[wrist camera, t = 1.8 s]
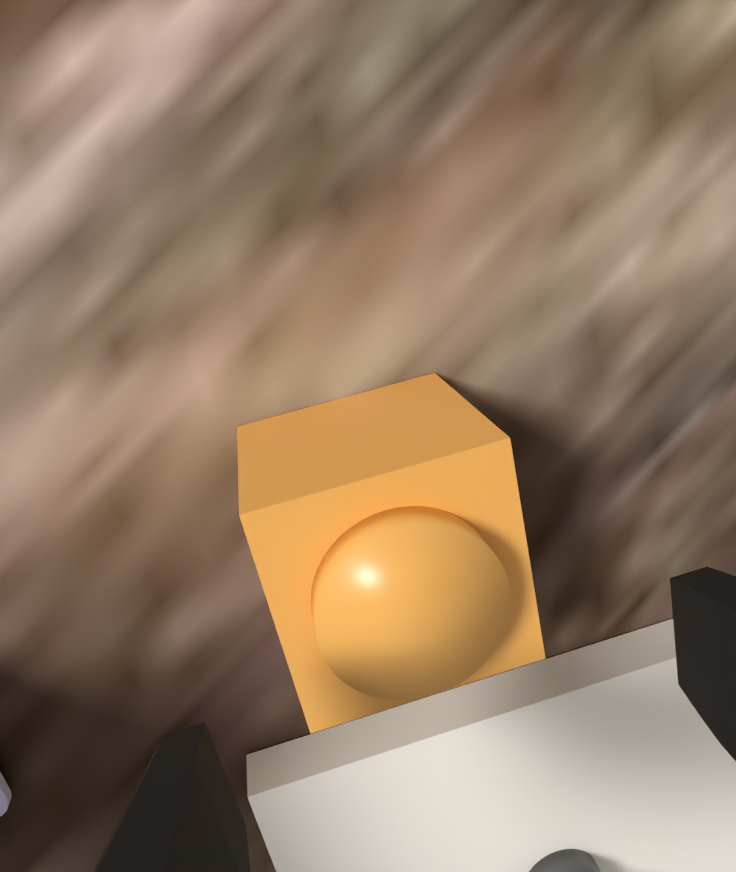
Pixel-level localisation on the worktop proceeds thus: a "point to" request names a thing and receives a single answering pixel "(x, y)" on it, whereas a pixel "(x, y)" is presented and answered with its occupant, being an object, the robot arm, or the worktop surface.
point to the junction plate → (512, 776)
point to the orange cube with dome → (388, 547)
